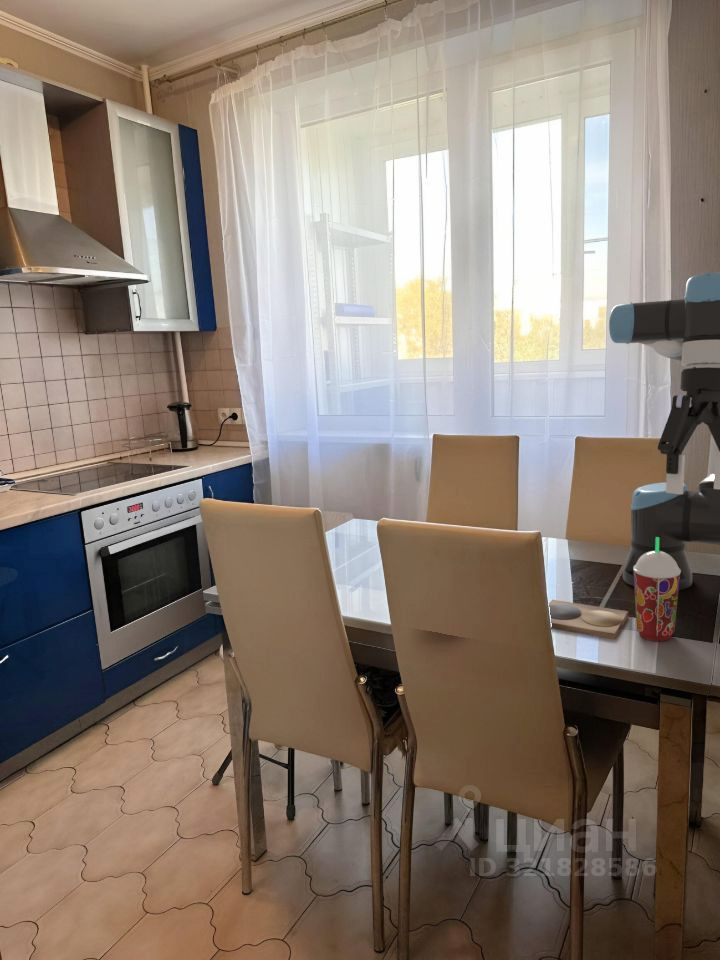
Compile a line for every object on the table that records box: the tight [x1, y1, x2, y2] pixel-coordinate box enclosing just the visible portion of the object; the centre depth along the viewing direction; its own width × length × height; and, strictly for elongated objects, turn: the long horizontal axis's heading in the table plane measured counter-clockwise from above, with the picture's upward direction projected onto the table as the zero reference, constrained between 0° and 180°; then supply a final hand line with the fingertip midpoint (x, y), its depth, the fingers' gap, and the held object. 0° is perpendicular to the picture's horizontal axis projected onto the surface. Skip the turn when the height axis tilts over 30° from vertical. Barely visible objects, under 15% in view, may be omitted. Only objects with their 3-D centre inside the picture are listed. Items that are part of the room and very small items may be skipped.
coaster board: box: [548, 599, 629, 640], centre depth 140 cm, size 12×16×1 cm
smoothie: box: [633, 537, 681, 642], centre depth 129 cm, size 8×8×20 cm
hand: (698, 491), depth 116 cm, fingers open, 13 cm apart
